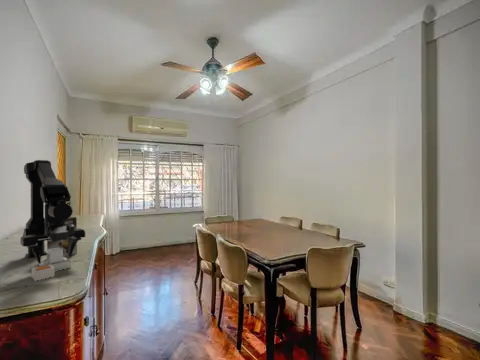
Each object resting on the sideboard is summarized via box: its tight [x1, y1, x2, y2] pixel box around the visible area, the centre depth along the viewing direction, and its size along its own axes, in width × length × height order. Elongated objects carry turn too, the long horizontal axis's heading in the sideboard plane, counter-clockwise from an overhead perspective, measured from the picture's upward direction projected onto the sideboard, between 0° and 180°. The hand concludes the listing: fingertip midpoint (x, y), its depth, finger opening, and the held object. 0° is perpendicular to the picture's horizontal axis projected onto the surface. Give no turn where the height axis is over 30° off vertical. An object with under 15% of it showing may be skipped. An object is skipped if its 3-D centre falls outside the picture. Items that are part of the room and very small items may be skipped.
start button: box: [36, 265, 49, 271], centre depth 87 cm, size 3×3×2 cm
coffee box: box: [46, 216, 78, 258], centre depth 111 cm, size 9×6×16 cm
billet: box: [46, 247, 63, 265], centre depth 96 cm, size 4×4×6 cm
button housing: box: [31, 264, 56, 282], centre depth 87 cm, size 5×5×3 cm
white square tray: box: [38, 257, 72, 272], centre depth 96 cm, size 8×8×2 cm
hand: (55, 260), depth 96 cm, fingers open, 9 cm apart
